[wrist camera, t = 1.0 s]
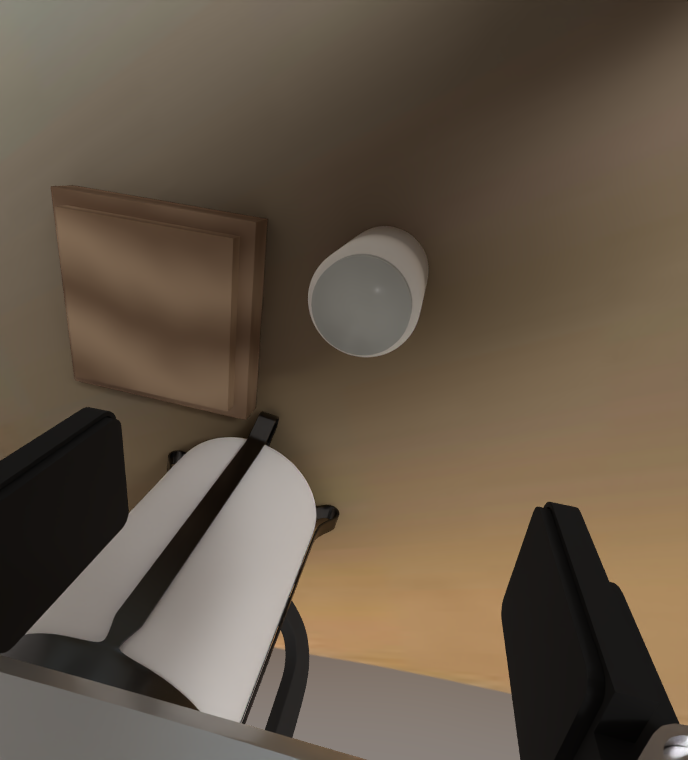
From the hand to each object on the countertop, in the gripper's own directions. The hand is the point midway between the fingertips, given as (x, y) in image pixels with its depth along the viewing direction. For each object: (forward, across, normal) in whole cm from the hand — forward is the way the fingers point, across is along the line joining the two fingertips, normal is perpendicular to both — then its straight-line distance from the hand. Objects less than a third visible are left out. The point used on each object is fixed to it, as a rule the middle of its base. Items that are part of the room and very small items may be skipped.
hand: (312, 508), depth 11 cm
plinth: (+23, +16, +3) cm, 28 cm away
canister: (+22, +1, -1) cm, 22 cm away
